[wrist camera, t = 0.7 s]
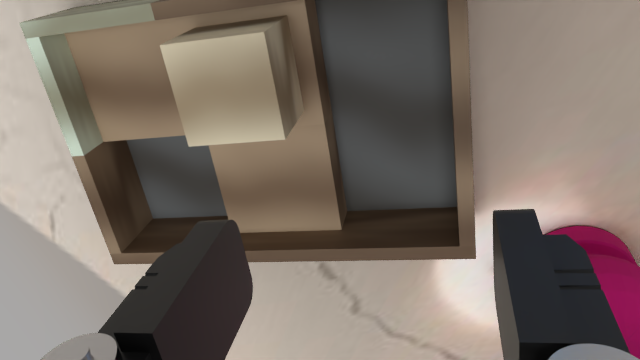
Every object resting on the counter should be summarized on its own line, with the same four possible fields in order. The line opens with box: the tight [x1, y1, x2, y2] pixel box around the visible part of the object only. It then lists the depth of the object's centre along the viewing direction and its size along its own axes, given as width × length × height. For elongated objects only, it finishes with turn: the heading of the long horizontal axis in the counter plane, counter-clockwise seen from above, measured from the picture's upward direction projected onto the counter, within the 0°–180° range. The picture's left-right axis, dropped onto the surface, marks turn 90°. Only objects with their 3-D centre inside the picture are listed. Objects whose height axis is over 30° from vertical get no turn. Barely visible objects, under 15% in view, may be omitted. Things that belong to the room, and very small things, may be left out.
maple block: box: [160, 15, 304, 147], centre depth 26 cm, size 5×5×4 cm
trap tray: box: [20, 0, 476, 264], centre depth 29 cm, size 15×22×4 cm
